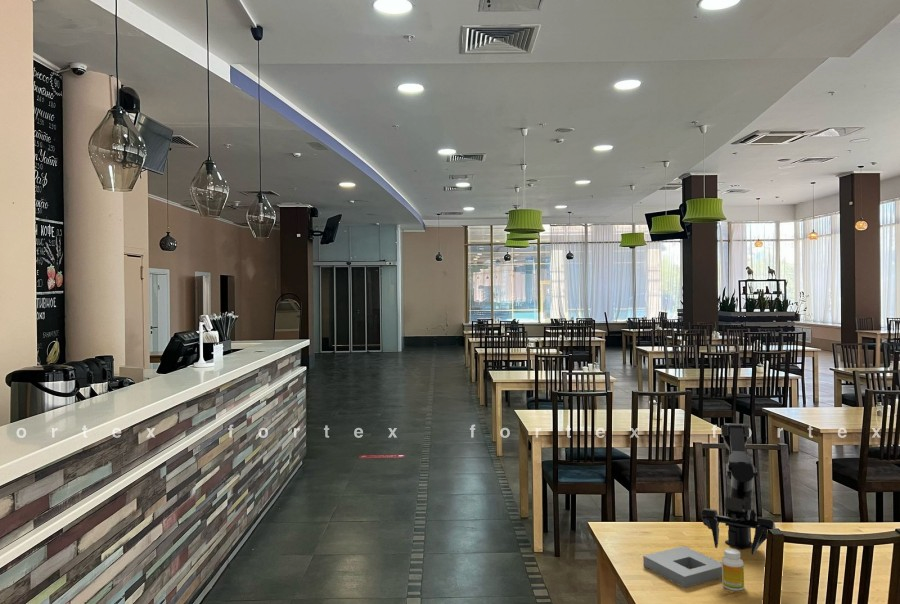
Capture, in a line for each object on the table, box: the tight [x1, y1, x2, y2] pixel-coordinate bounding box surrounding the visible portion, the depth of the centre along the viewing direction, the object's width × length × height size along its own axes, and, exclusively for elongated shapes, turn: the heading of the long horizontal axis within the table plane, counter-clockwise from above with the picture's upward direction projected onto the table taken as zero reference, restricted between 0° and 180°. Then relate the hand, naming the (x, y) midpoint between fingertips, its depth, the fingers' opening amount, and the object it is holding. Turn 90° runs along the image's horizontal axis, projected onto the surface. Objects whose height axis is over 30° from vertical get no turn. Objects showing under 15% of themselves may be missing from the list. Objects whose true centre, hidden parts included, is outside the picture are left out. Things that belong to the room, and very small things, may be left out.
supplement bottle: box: [721, 547, 745, 592], centre depth 166 cm, size 5×5×10 cm
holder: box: [642, 545, 722, 589], centre depth 177 cm, size 16×16×3 cm
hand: (733, 550), depth 168 cm, fingers open, 9 cm apart
